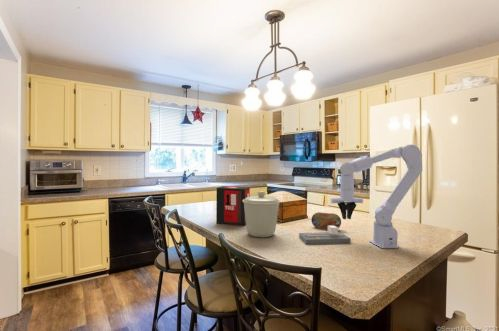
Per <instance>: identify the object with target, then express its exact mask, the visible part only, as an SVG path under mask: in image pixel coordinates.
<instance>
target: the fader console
mask: <svg viewBox="0 0 499 331" xmlns="http://www.w3.org/2000/svg"><path fill="white" fill-rule="evenodd" d="M298 238H299V239H300V240H301V241H302V242H303V243H304V244H305V245H326V244H327V245H329V244H330V243H331V245H332V244H351V242H352V241H351V237H349V236H347V235H346V234H344V233H343V232H341V231H338V234H335V235H331V234H330V233H328V231H325V232H299V234H298Z"/></svg>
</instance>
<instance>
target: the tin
mask: <svg viewBox="0 0 499 331" xmlns="http://www.w3.org/2000/svg"><path fill="white" fill-rule="evenodd" d="M310 219H311V224H312V225H313V227H315V228H317V229H321V230H328V226H333V225H334V226H336V227H337V228H338V229H339V228H340V227H341V225H342V219H341V217H340V215H338V214H337V213H329V212H315V213H314V214H312V216H311V218H310Z"/></svg>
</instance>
